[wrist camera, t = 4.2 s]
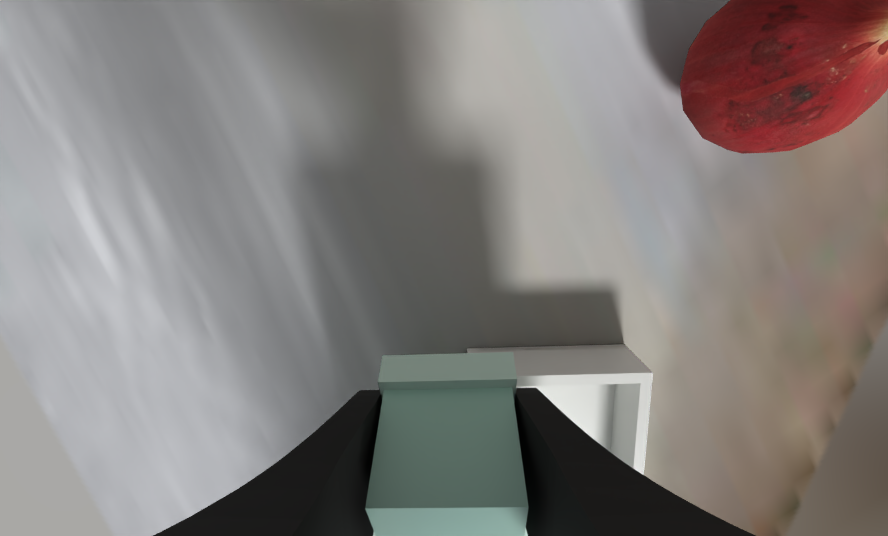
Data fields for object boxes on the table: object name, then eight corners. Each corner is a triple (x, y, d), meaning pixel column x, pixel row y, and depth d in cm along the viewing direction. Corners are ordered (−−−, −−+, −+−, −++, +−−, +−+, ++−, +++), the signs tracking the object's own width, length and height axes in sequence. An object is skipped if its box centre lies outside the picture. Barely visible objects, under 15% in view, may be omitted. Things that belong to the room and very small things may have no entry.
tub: (610, 537, 24) (633, 589, 21) (471, 540, 24) (474, 592, 21) (624, 344, 21) (652, 372, 18) (466, 348, 21) (469, 377, 18)
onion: (694, 183, 19) (865, 192, 11) (618, 84, 18) (747, 20, 10) (805, 91, 18) (1077, 31, 10) (731, -19, 17) (968, -176, 9)
